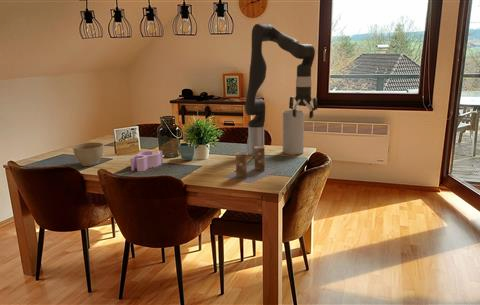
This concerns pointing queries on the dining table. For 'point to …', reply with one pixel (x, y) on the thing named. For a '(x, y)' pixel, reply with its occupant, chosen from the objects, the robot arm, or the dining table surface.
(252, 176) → the felt board
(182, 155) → the flower pot
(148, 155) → the clip
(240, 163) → the one dot tile
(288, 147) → the cylinder vase
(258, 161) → the two dot tile
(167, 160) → the dining table surface
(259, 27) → the robot arm
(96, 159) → the planter bowl
